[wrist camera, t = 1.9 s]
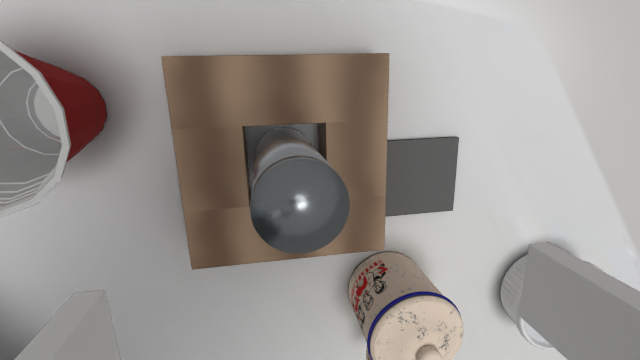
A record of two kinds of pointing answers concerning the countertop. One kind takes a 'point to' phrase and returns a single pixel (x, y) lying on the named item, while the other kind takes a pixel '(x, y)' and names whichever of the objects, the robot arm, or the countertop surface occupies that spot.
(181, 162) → the frame
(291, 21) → the countertop surface
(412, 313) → the teacup with lid
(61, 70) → the plastic cup
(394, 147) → the pad
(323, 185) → the grey metal cylinder
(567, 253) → the robot arm
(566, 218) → the countertop surface
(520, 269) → the ramekin
